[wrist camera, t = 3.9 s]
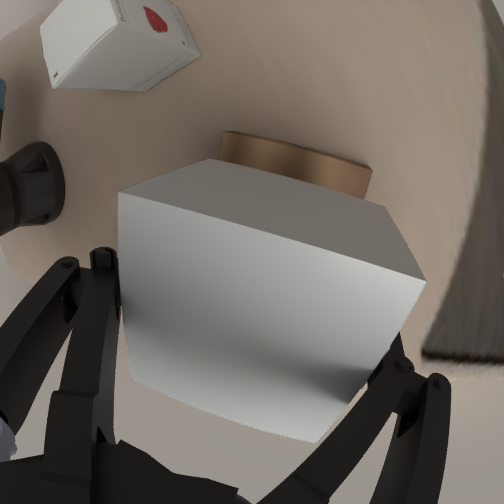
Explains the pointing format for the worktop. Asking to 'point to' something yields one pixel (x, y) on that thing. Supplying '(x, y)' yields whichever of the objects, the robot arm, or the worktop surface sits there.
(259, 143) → the board
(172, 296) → the grey square block
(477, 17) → the worktop surface
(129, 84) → the supplement box
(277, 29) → the worktop surface
